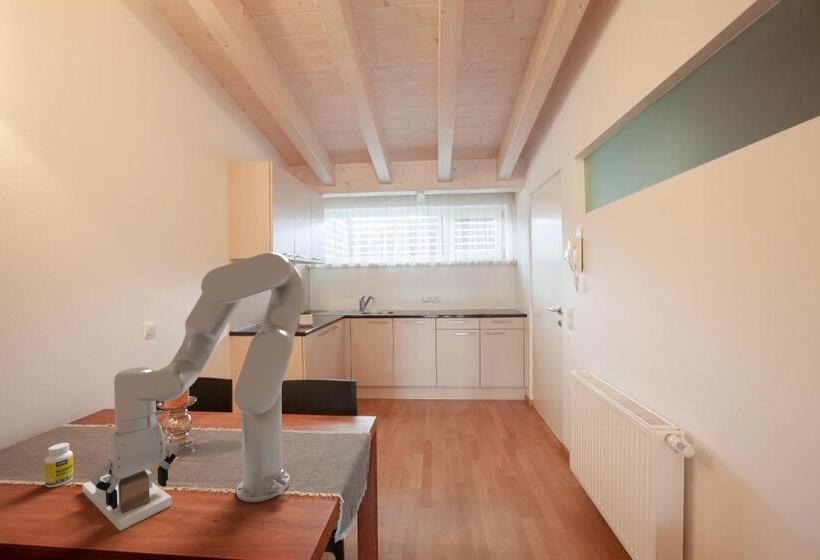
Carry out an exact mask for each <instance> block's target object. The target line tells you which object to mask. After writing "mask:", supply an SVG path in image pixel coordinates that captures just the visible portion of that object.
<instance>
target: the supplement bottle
mask: <svg viewBox="0 0 820 560" xmlns="http://www.w3.org/2000/svg"><path fill="white" fill-rule="evenodd" d="M47 449H48V455H47V456H46V457H45V459H44V486H45V487H46V488H55V487H60V486H62V485H64V484H67V483H69V482H70V481H72V480H73V478H74V453H73V451H71V450H70V443H69V442H61V443H58V444H53V445H52V446H50V447H48V448H47Z"/></svg>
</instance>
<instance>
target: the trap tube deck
mask: <svg viewBox="0 0 820 560" xmlns="http://www.w3.org/2000/svg"><path fill="white" fill-rule="evenodd" d="M145 471H146V473H147V475H148V477H149V497H150V503H148V504H145V505H143V506H140V507H138V508H135V509H133V510H130V511H128V512H125V513H122V512H121V509H120V506H119V494H118V484H117V486H116V487H115V489H116V490H117V500H118V507H117V508H116V509H112V508H111V507H110V506H107V505H106V491H103V490H101V489H98V488H97V487H96V486H95V485H94V484H93V483H92V482H91V481H90V480H89V481H86V482H84V483H82V493H83V494H84V495H85V496H86V497H87V498H88V499H89V500H90V502H92V503H93V505H94V506H95V507H96V508H97V509H98V510H99V511H100V512H101V513H102V514H103V515H104V516H105V517H106V518H107V519H108V520H109V521H110V523H112V525H113V526H114V527H116V528H117V530H118V531H123V530H124V529H127V528H129V527H131V526H133V525H135V524H136V523H138V522H141V521H143V520H145V519H147V518H149V517H151V516H153V515H155V514H157V513H159V512H161V511H164V510H165V509H168V508H170V507H171V506H173V500H172V499H173V498H172V497H173V496H171V495H170V494H168V493H167V492H166V491H164V490H163V489H162V488H160V487H159V486H157V485H156V484H155V483H154V482H153V472H152V471H150V470H149V469H147V470H145ZM110 476H111V475H109V474H108V473H107V474H104V475H103V476H101V478H100V480H101V481H103V482H106V481H107V480H108V479H109V477H110Z"/></svg>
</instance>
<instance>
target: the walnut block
mask: <svg viewBox="0 0 820 560" xmlns="http://www.w3.org/2000/svg"><path fill="white" fill-rule="evenodd" d="M118 494H119V506H120V509H121V512H122V513H125V512H128V511H130V510H133V509H135V508H138V507H140V506H143V505H145V504H148V503H150V497H149V477H148V475H147V473H146V471H145V470H144V471H142V472H139V473H137V474H134V475H132V476H129V477H127V478H124V479H121V480H120V482H119V483H118Z"/></svg>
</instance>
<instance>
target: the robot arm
mask: <svg viewBox="0 0 820 560" xmlns="http://www.w3.org/2000/svg"><path fill="white" fill-rule="evenodd" d="M200 288H201V294H200V296H199V297H198V299H197V301H196V303H195V304H194V306H193V308H192V309H191V310H190V312H189V314H188V316H187V318H186V319H185V323H184V327H185V328H184V329H185V336H184V339H183V341H182V343H181V345H180V346H179V349H178V350H177V352H176V353H175V355H174V357H173V359H172V360H171V362H170V363H169V364H168V365H166V366H164V367H163V368H160V369H158V370H154V369H153V368H151V367H148V366H147V367H146V366H145V367H144V366H141V367H133V368H127V369H124V370H121V371H119V372H118V373H116V374H115V376H114V379H113V386H114V388H113V389H114V415H115V421H114V422H115V430H114V431H113V432H111V433H110V435H109V437H110V438H109V440H108V442H109V443H108V449H107V461H106V463H104V464H103V465H102V466H101V467H100V468H98V469H97V470H96V471H94V472H93V473H92V474H91V475H89V476H88V480H89V481H91V482H92V483H93V484H94V485H95V486H96V487H97V488H98V489H101V490H103V491H106V505H107V506H110V507H111V508H112V509H116V508H117V507H118V500H117V490H116V489H115V487H116V486H117V484H118V483H119V482H120V480H121V479H124V478H127V477H129V476H132V475H134V474H137V473H139V472H142V471H144V470H147V469H148V470H149V469H151V468H152V469H153V468H154V467H156V466H158V467H157V469H156V471H157V484H158V485H159V486H161V487H163V488H165V487H167V485H168V483H167V481H168V480H169V469H170V467H171V464H172V463H173V462H174V460H175V459H176V456H177V454H178V451H179V450H180V448H181V447H180V445H178V443H167V442H165V441H164V440H165V439H164V434H163V430H162V426H161V424H160V421H158V419H159V417H162V416H163V415H164V412H163V410H161V409H160V410H158V409H157V402H171V401H173V400H176V399H178V398H179V397H181V396H182V395H183V394H184V393H185V392H186V391H187V390H188V389H189V388H190V387H191V386H192V385H194V383H196V381H197V379H198V378H199V377H200V374H201V373H202V372H203V369H204V368H205V366H206V365H207V362H208V361H209V359H210V357H211V356H212V354H213V352H214V349H215V348H216V346H217V344H218V343H219V341H220V339H221V336H222V335H223V333H224V331H225V329H226V328H227V325H228V324H229V322H230V320H231V319H232V316H233V315H234V313H235V311H236V310H237V309H238V306H239V305H240V302H241V301H242V299H246V298H248V297H251V296H254V295H257V294H260V293H263V292H266V291H269V290H270V291H271V292H270V293H271V294H270V298H269V301H268V305H267V307H266V311H265V314H264V317H263V320H262V323H261V325H260V328H259V329H258V331H257V332H256V334H254V336H253V338H251V342H249V343H250V344H249V346H248V348H247V352H246V354H245V357H244V358H245V359H244V361H243V364H242V367H241V369H240V373H239V376H238V379H237V382H236V385H235V389H234V391H233V399H234V403H235V406H236V407H237V409H238V410H239V411H241V415H240V416H241V419H240V420H241V452H242V454H241V457H242V461H241V462H242V480H241V482H239V484H238V485H237V486H236V489H235V490H236V491H235V493H236V496H237V498H238V499H239V500H241V501H242V502H246V503H259V502H264V501H268V500H270V499H274V498H275V497H277V496H282V495H283V494H284V493H285V491H286V490H287V489H288V487H289V486H290V484H291V482H290V481H291V477H290V474H289V473H288V472H287V471H285V469H284V457H283V456H284V454H283V453H284V451H283V416H282V411H283V409H282V389H283V388H282V385H283V382H284V379H285V377H286V373H287V371H288V366H289V363H290V360H291V357H292V353H293V349H294V343H295V342H294V341H295V335H296V331H297V328H298V325H299V321H300V319H301V318H300V317H301V314H302V311H303V307H304V305H305V304H304V303H305V300H306V299H305V297H306V288H305V282H304V280H303V277H302V275H301V273H300V271H299V270H298V268H297V267H296V266H295V265H294V264H293V263H292V262H291V261H290V260H289V259H288V258H287V257H286V256H285V255H284V254H282V253H280V252H279V253H278V252H274V251H270V252H269V251H268V252H263V253H261V254H257V255H253V256H250V257H248V258H245V259H241V260H238V261H235V262H232V263H227V264H225V265H221V266H218V267H215V268H213V269H211V270H209V271H208V272H207V273H206V274H205V275H204V277H202V280H201V284H200ZM166 450H168V451H169V453H168V454H167V455H166ZM106 473H107V475H108V474H109V475H111V476H110V477H109V479H108V480H107V481H106V482H103V481H101V480H100V478H101V477H103V476H105V475H106Z"/></svg>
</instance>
